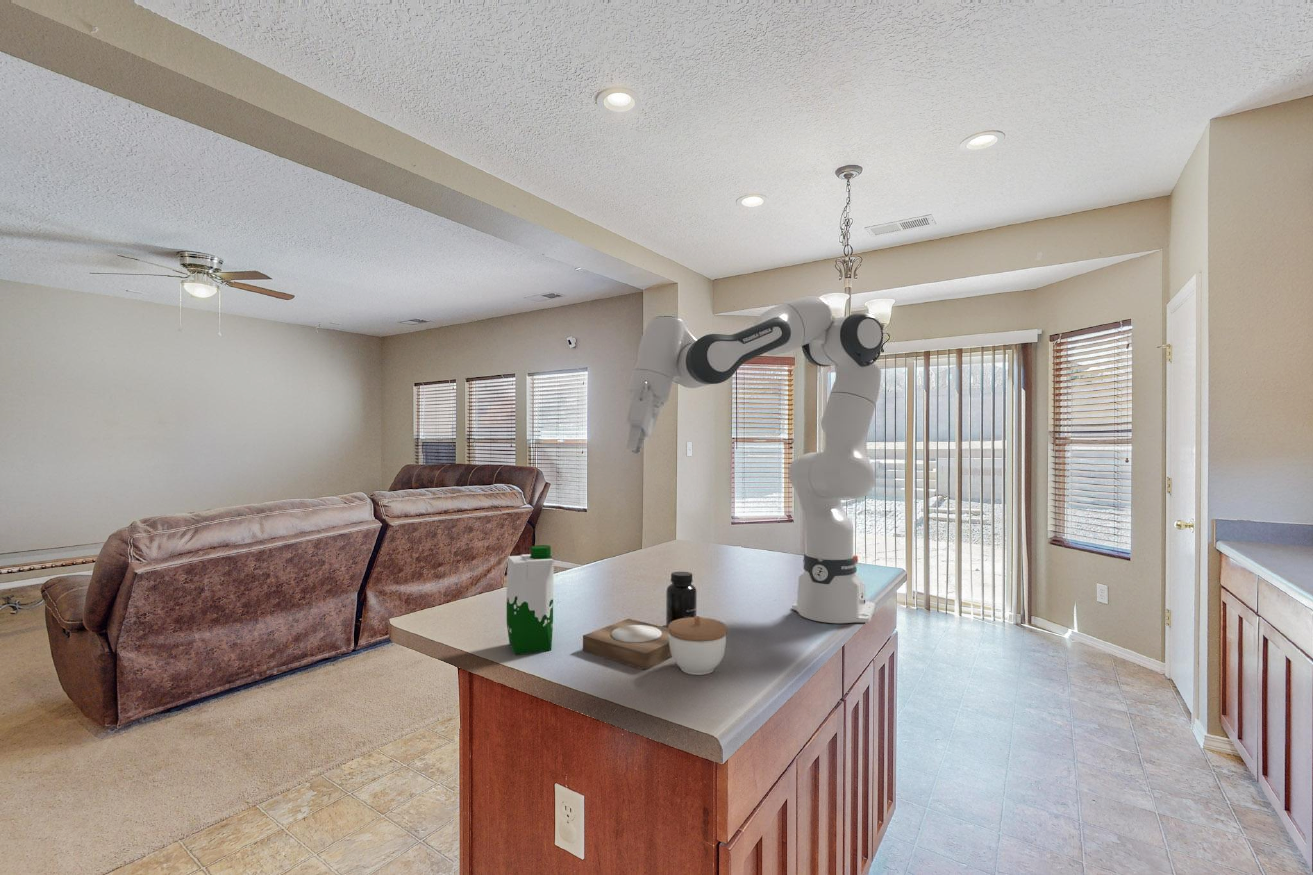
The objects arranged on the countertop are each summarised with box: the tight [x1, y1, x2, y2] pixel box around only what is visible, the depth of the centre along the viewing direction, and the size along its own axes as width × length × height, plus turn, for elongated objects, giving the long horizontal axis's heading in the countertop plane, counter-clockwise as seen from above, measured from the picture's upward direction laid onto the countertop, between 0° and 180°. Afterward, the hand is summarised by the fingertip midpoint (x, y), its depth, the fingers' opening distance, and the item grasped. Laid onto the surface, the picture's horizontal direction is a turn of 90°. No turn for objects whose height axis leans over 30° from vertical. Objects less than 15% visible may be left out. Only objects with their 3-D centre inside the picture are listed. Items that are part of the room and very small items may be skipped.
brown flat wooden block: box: [582, 618, 673, 671], centre depth 113 cm, size 14×16×3 cm
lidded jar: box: [667, 615, 728, 676], centre depth 104 cm, size 11×11×9 cm
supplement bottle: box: [665, 571, 698, 628], centre depth 127 cm, size 7×7×12 cm
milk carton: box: [506, 544, 555, 656], centre depth 115 cm, size 9×9×20 cm
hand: (633, 451), depth 120 cm, fingers open, 8 cm apart
